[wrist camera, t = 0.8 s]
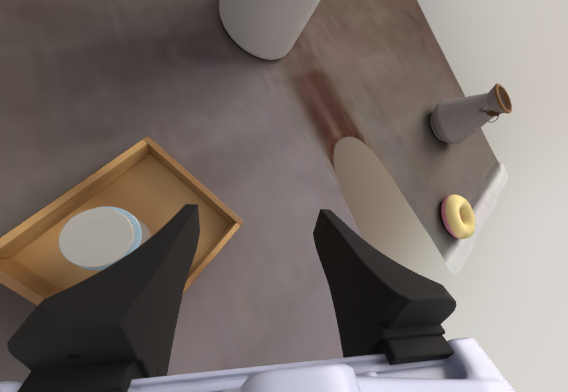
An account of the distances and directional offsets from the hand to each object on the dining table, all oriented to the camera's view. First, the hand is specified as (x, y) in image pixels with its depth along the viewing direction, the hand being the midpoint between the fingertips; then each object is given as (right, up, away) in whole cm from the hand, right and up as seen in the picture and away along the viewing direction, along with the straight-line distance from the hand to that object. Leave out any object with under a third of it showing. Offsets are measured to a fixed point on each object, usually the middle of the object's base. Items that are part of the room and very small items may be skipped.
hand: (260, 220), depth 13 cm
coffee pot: (+38, +17, +41) cm, 59 cm away
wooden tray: (-14, -3, +10) cm, 17 cm away
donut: (+40, -4, +38) cm, 55 cm away
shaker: (-15, -3, +9) cm, 17 cm away
